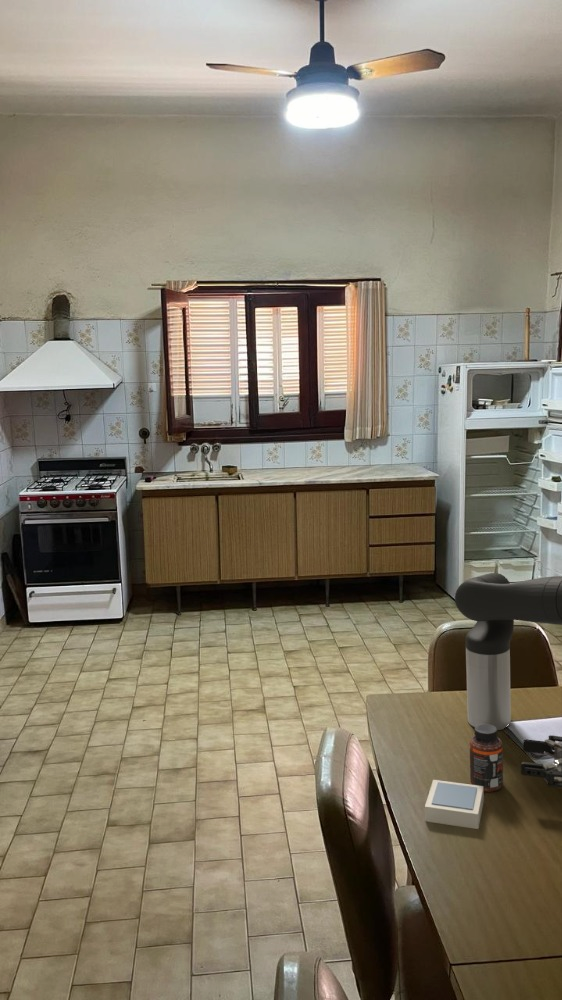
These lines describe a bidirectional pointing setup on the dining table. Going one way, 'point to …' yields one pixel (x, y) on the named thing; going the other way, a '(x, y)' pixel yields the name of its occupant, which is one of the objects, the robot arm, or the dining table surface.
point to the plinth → (454, 804)
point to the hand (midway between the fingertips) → (522, 756)
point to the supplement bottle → (486, 758)
